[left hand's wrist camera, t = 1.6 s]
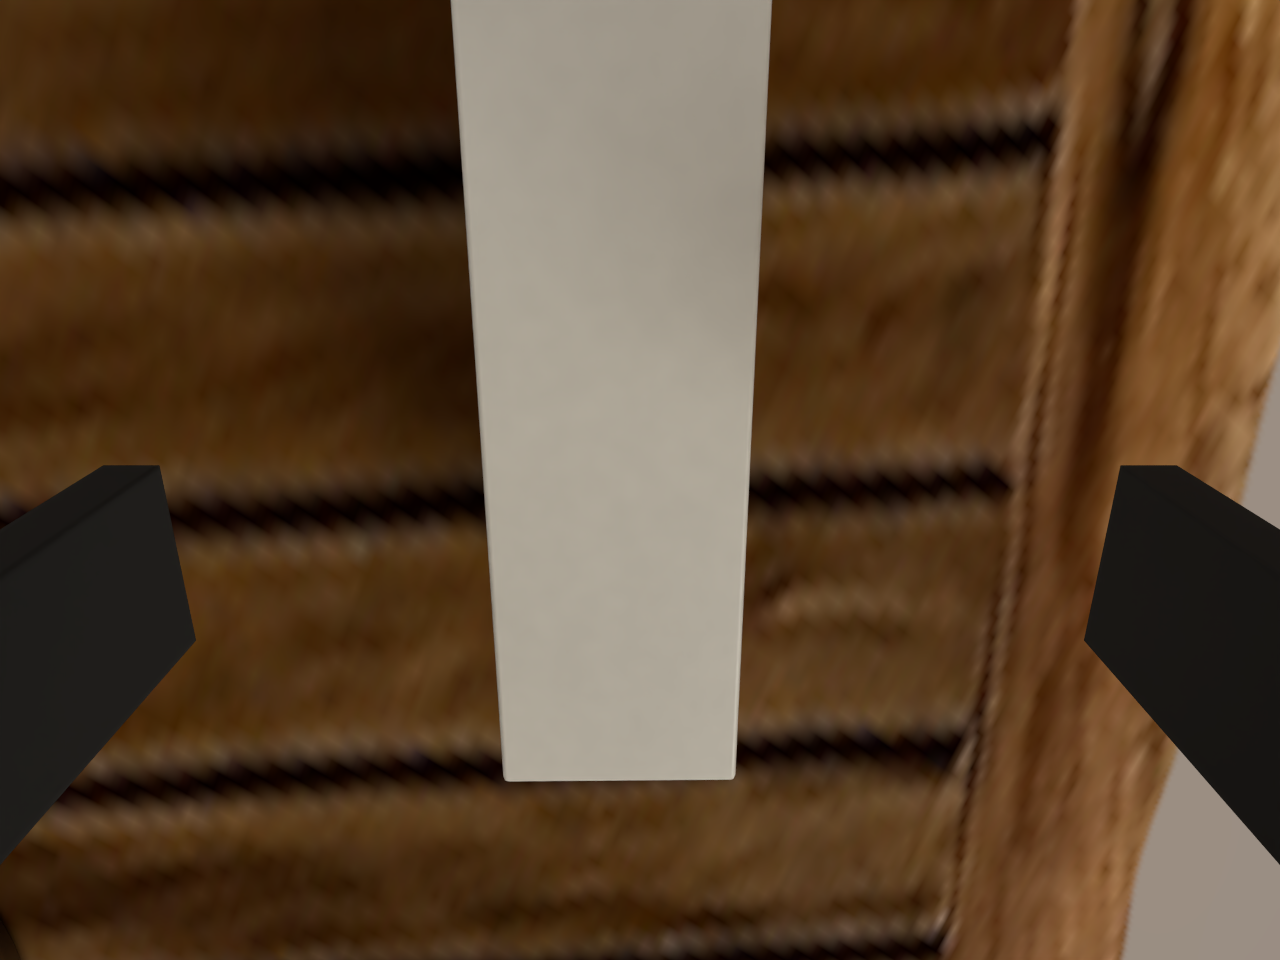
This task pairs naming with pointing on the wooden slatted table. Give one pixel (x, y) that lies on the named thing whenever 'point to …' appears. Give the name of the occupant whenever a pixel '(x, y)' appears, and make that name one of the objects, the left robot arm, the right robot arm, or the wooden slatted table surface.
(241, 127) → the wooden slatted table surface
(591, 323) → the bar
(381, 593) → the wooden slatted table surface
